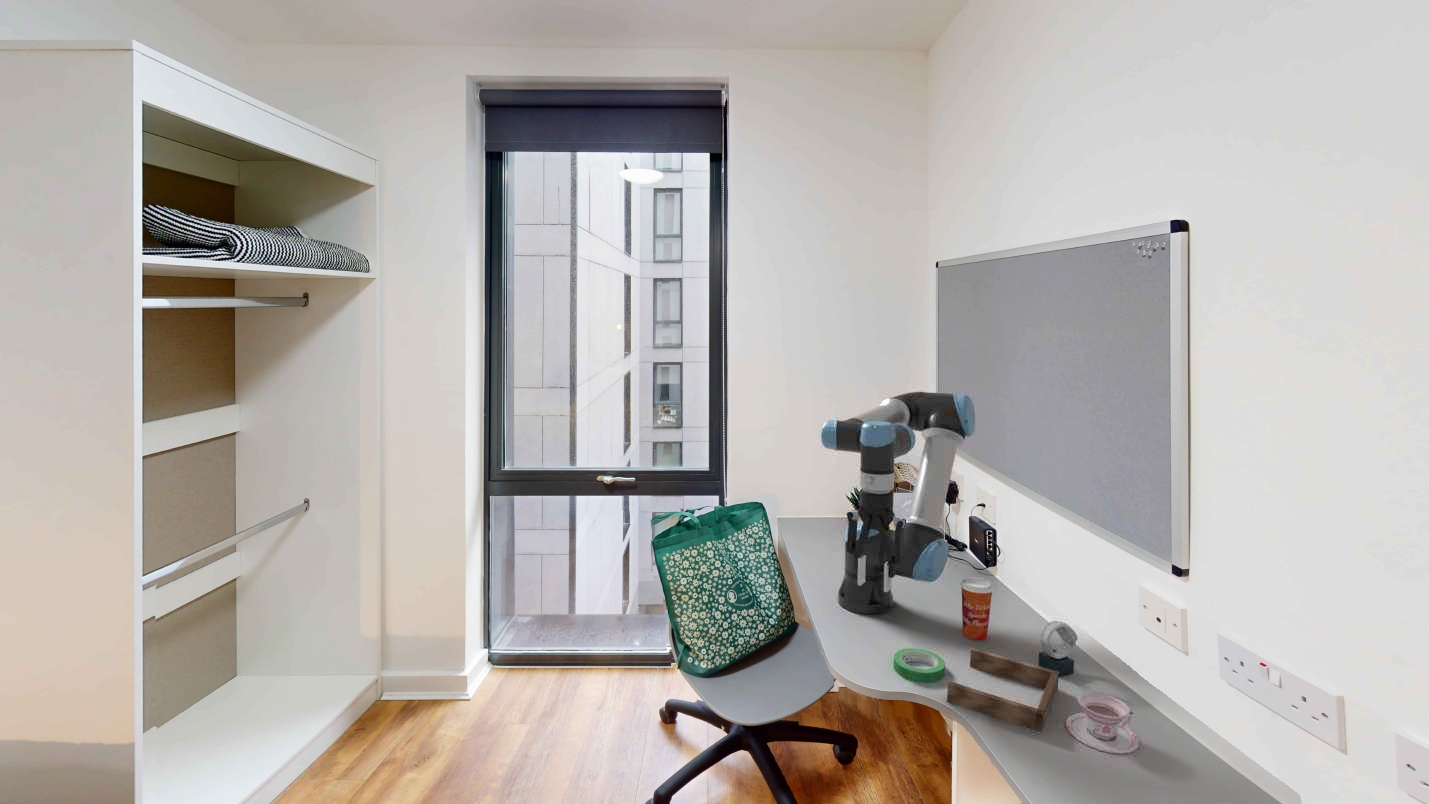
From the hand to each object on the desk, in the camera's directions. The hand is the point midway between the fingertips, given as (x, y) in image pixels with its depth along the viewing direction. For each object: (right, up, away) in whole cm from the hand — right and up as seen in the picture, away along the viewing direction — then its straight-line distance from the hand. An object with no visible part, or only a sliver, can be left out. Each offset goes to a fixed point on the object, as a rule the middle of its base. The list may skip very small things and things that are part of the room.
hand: (874, 586), depth 150 cm
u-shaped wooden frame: (+23, -19, -15) cm, 34 cm away
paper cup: (+28, -16, +11) cm, 34 cm away
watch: (+40, -17, -5) cm, 44 cm away
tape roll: (+9, -18, -4) cm, 21 cm away
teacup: (+36, -20, -28) cm, 50 cm away
